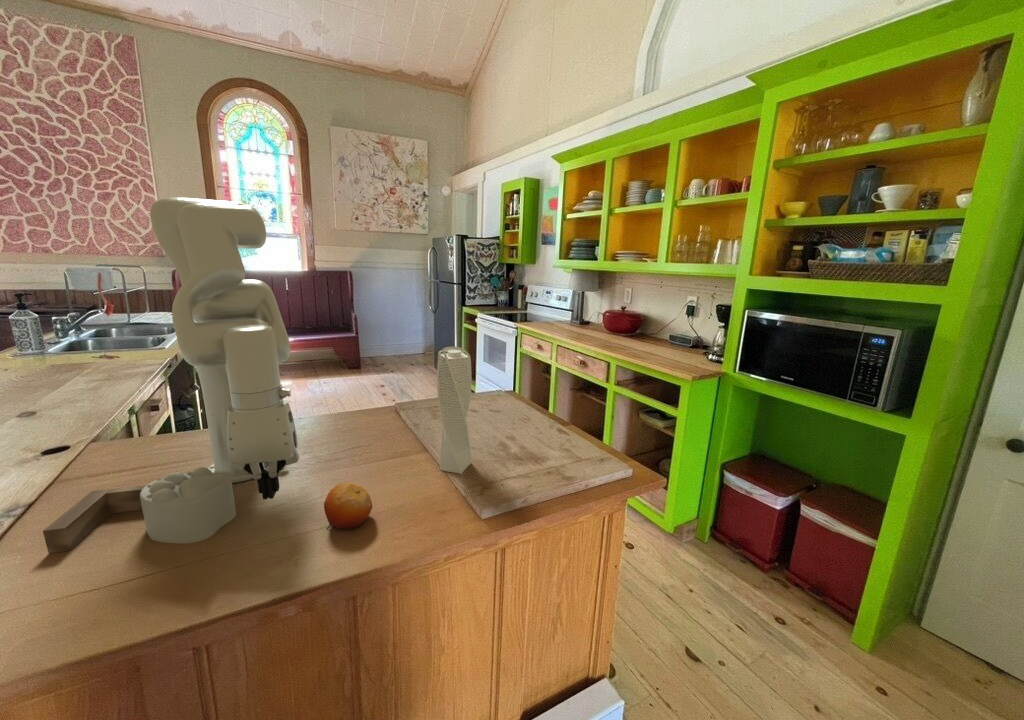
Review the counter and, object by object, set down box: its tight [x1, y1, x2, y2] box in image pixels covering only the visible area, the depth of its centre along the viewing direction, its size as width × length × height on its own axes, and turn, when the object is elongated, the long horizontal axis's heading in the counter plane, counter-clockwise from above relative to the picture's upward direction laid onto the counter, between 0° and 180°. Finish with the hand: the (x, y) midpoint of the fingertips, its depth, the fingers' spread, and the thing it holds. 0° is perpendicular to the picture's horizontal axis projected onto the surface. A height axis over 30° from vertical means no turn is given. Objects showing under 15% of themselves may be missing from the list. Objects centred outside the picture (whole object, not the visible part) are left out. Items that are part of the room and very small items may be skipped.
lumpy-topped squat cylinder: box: [140, 466, 237, 544], centre depth 75 cm, size 10×13×9 cm
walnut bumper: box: [42, 484, 147, 554], centre depth 75 cm, size 14×12×4 cm
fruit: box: [323, 482, 373, 530], centre depth 76 cm, size 8×8×8 cm
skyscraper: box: [436, 346, 473, 475], centre depth 94 cm, size 8×8×28 cm
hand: (270, 495), depth 79 cm, fingers closed
